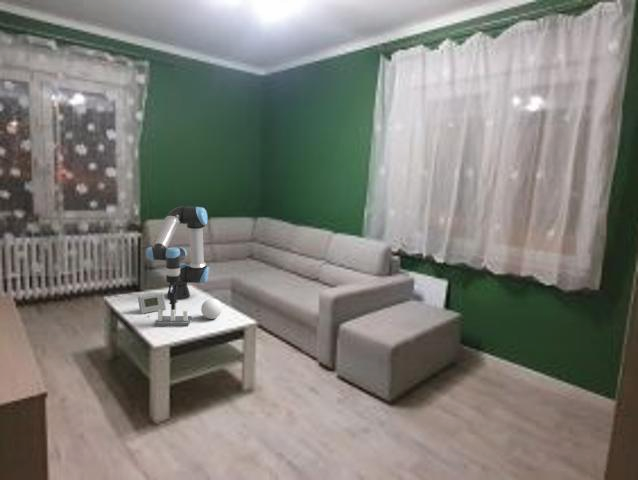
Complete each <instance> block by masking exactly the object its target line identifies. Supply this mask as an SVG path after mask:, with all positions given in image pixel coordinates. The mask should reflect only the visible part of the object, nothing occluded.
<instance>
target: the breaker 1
mask: <svg viewBox="0 0 638 480" xmlns="http://www.w3.org/2000/svg"><path fill="white" fill-rule="evenodd" d="M163 312H164V310H158V311H157V320H158V321H162V320H163V316H164V315H163Z"/></svg>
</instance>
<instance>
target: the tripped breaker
mask: <svg viewBox="0 0 638 480" xmlns="http://www.w3.org/2000/svg"><path fill="white" fill-rule="evenodd" d="M170 316H171V321H175V316H176V315H175V310H171V309H170Z"/></svg>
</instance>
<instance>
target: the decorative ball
mask: <svg viewBox="0 0 638 480" xmlns="http://www.w3.org/2000/svg"><path fill="white" fill-rule="evenodd" d="M200 308H201V309H200V311H201V314H202V315H203V317H204V318H206V319H208V320H209V319H210V320H214V319H216V318H218V317H219V316H220V315H221V313H222V310H223V309H222V303H221V302H220V301H219V300H218V299H216V298H208V299H206V300H205V301H204V302H203V303H202V305H201V307H200Z"/></svg>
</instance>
